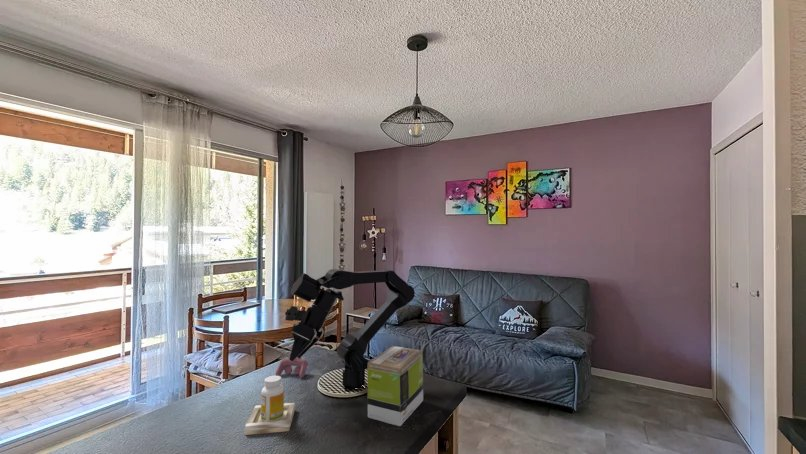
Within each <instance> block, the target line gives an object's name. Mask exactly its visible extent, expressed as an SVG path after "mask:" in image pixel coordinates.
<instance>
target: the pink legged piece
mask: <svg viewBox="0 0 806 454" xmlns="http://www.w3.org/2000/svg"><path fill="white" fill-rule="evenodd" d="M289 358H290V356H287V357H283V359H281V361H280V362H279V363H278V366H277V368H276V370H275V376H280V377H281V375H282V373H283V372H284V374H285V375H291V374H292V373H293V374H295V375H296V376H298V375H299V378H300V379H304V376H305V375H306V371H307V367H308V366H309V362H308V360H306V359H305V358H304V357H302V356H301V357H300V358H298V357H297V358H296V359H295V360H294V361H291V360H289ZM292 366H295V368H294V369H293V368H292Z"/></svg>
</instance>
